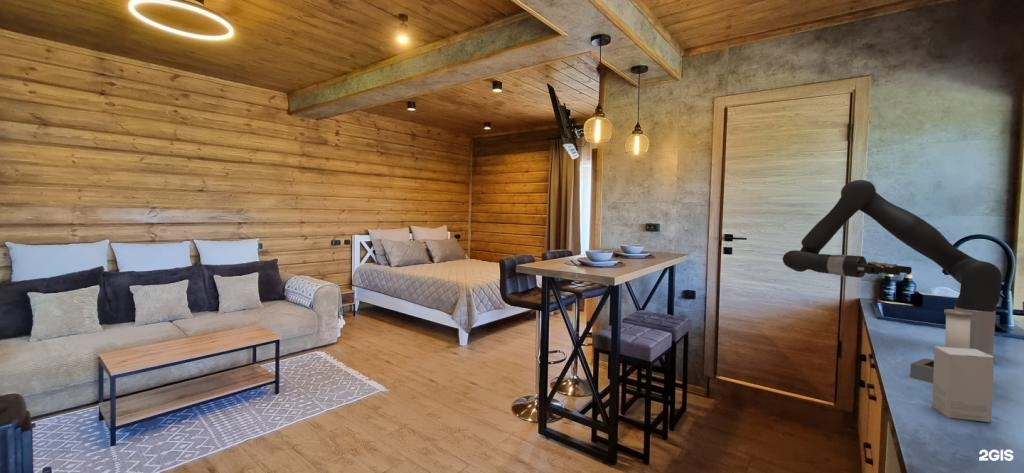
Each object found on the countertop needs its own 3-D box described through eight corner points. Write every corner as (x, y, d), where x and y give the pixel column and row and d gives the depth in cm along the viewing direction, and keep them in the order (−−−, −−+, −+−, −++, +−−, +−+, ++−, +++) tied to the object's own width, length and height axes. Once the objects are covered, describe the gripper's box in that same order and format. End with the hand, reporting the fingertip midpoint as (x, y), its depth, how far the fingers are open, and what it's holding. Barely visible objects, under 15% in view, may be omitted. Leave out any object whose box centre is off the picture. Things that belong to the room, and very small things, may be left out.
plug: (947, 366, 131) (948, 308, 130) (974, 372, 126) (975, 311, 125) (939, 370, 128) (940, 310, 127) (967, 376, 123) (968, 314, 122)
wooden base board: (938, 367, 134) (939, 351, 134) (989, 379, 124) (990, 362, 124) (908, 380, 123) (908, 363, 122) (961, 394, 113) (962, 376, 113)
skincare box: (973, 411, 103) (977, 348, 102) (993, 424, 97) (997, 357, 96) (929, 406, 106) (933, 344, 105) (946, 418, 100) (950, 352, 99)
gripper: (837, 255, 147) (896, 260, 133) (856, 254, 154) (915, 258, 140) (836, 277, 147) (895, 284, 133) (855, 274, 154) (914, 281, 140)
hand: (905, 270), depth 137 cm, fingers open, 8 cm apart
